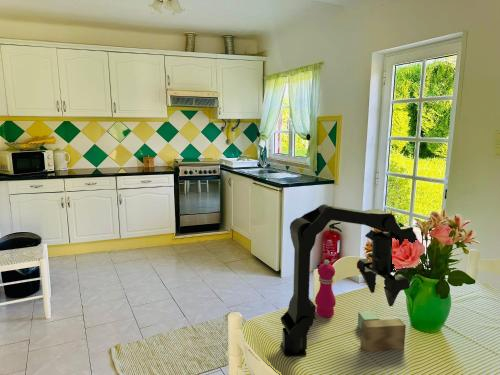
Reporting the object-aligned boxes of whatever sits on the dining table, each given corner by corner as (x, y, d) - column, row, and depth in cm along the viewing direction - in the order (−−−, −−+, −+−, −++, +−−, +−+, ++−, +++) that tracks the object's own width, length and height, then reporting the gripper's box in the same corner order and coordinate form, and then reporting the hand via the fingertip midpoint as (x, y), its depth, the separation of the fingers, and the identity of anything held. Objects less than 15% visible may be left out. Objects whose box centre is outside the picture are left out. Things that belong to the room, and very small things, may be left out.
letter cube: (364, 334, 113) (364, 319, 112) (357, 325, 118) (358, 311, 117) (378, 333, 113) (379, 319, 113) (371, 324, 118) (372, 310, 118)
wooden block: (365, 352, 104) (366, 327, 102) (360, 345, 107) (361, 321, 106) (404, 349, 105) (405, 325, 103) (398, 342, 108) (399, 318, 107)
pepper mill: (330, 320, 121) (332, 265, 118) (311, 313, 125) (312, 260, 122) (338, 311, 127) (340, 259, 123) (320, 306, 131) (321, 254, 128)
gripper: (426, 258, 99) (425, 308, 102) (385, 239, 117) (384, 282, 120) (393, 263, 97) (392, 315, 99) (356, 243, 114) (356, 288, 117)
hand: (381, 299), depth 109 cm, fingers open, 9 cm apart
